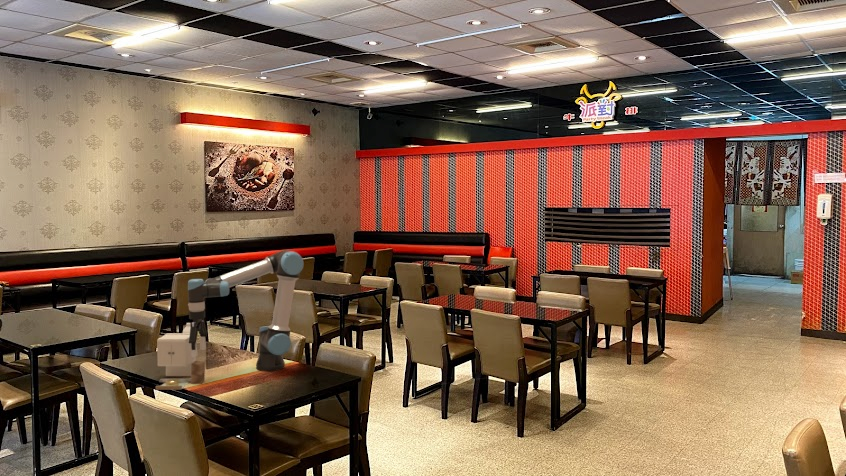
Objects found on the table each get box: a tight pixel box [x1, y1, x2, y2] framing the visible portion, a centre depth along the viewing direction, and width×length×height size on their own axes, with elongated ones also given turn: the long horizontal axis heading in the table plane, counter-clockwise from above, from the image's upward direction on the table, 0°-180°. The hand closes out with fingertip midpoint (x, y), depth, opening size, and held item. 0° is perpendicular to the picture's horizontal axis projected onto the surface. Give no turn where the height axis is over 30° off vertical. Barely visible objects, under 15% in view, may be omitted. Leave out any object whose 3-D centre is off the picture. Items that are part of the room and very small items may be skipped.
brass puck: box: [166, 378, 179, 386], centre depth 318 cm, size 6×6×2 cm
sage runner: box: [155, 377, 191, 391], centre depth 322 cm, size 12×20×2 cm, turn 2°
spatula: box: [158, 360, 206, 385], centre depth 324 cm, size 21×5×10 cm, turn 92°
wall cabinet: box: [156, 332, 194, 377], centre depth 330 cm, size 14×14×22 cm
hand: (198, 352), depth 324 cm, fingers open, 13 cm apart
